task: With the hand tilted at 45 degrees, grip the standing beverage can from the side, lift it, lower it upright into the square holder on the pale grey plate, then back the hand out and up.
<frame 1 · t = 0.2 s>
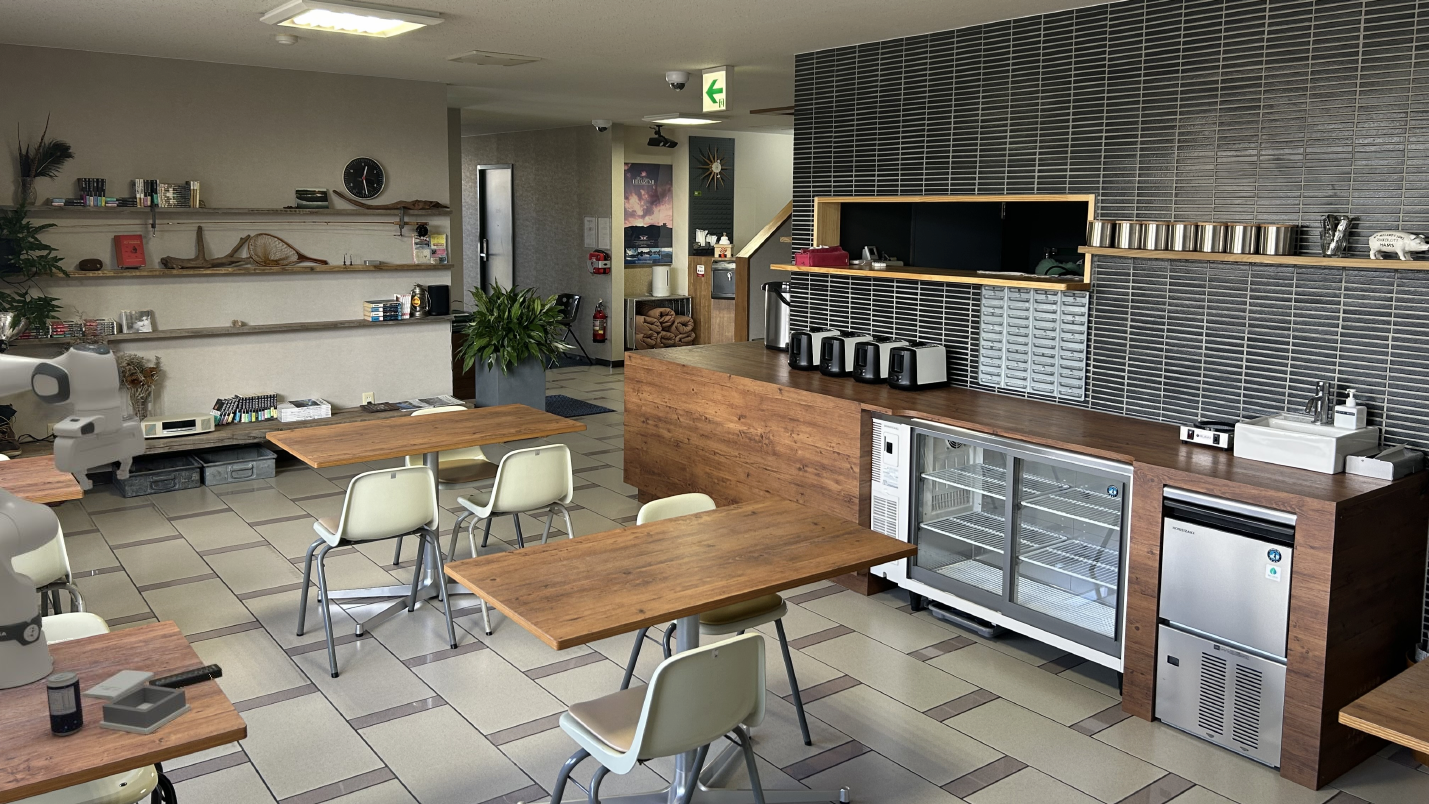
hand: (105, 483, 225), 48 cm above the table, tool pointing down, fingers open, 8 cm apart
beverage can: (67, 731, 215), on the table
external hard drive: (119, 689, 236), on the table
square holder: (146, 718, 221), on the table
multiport hub: (186, 684, 239), on the table
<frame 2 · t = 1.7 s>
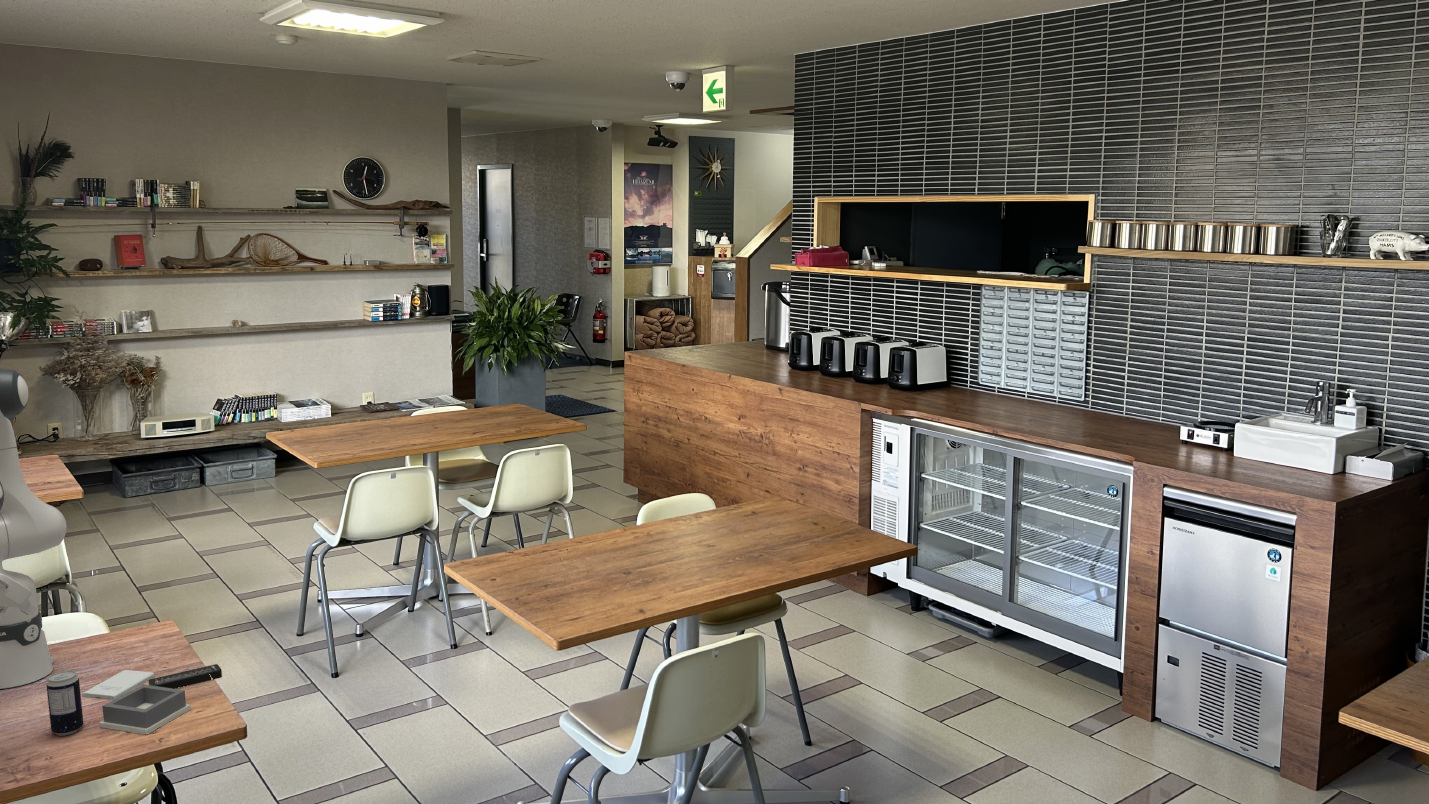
hand: (18, 610, 206), 28 cm above the table, tool tilted 40°, fingers open, 8 cm apart
nothing on the table moved.
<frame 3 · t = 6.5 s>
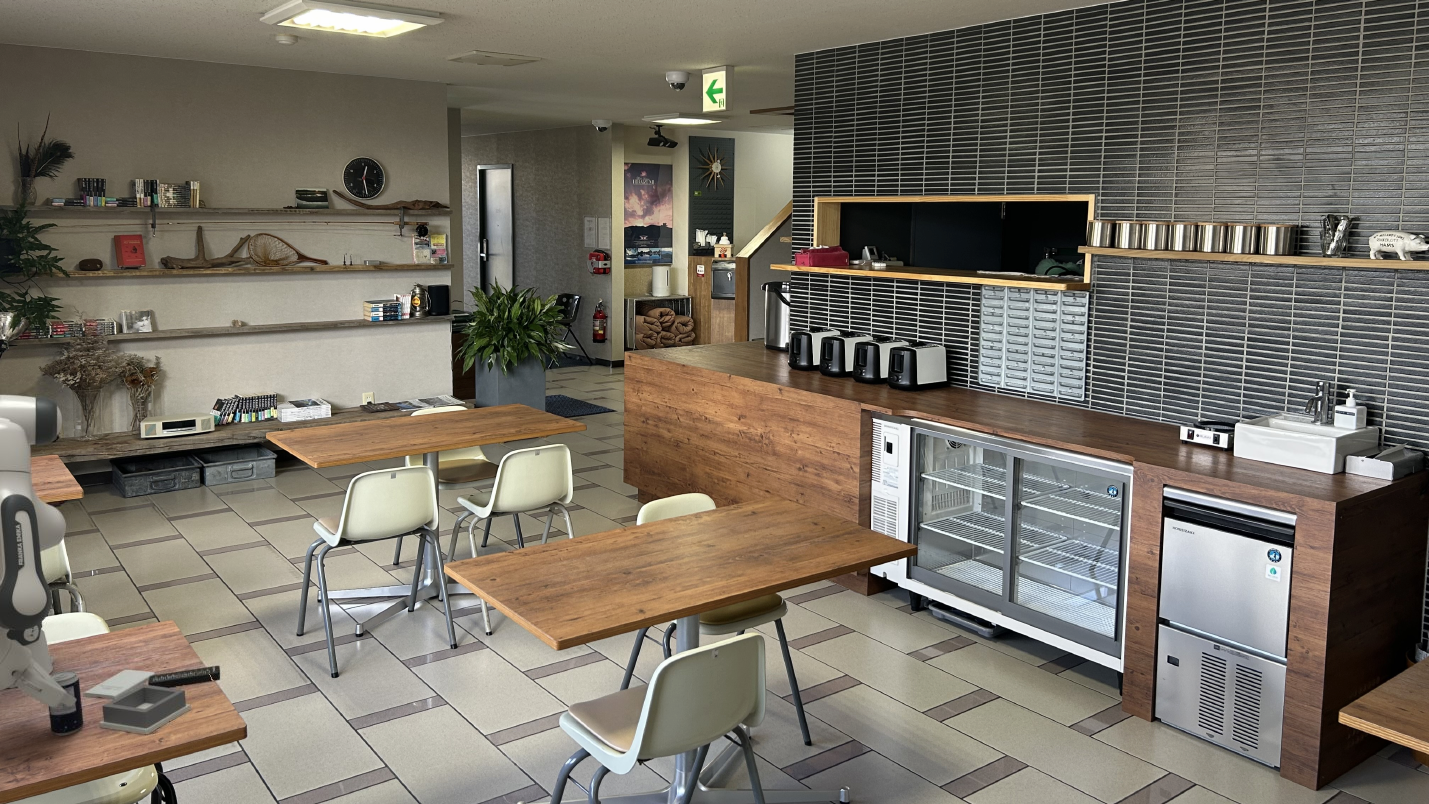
hand: (67, 696, 215), 7 cm above the table, tool tilted 45°, fingers closed on beverage can, 6 cm apart
beverage can: (67, 731, 215), on the table, touching gripper
when the fingers open (10 cm above the table, at t = 12.2 s): beverage can stays where it is, resting on square holder.
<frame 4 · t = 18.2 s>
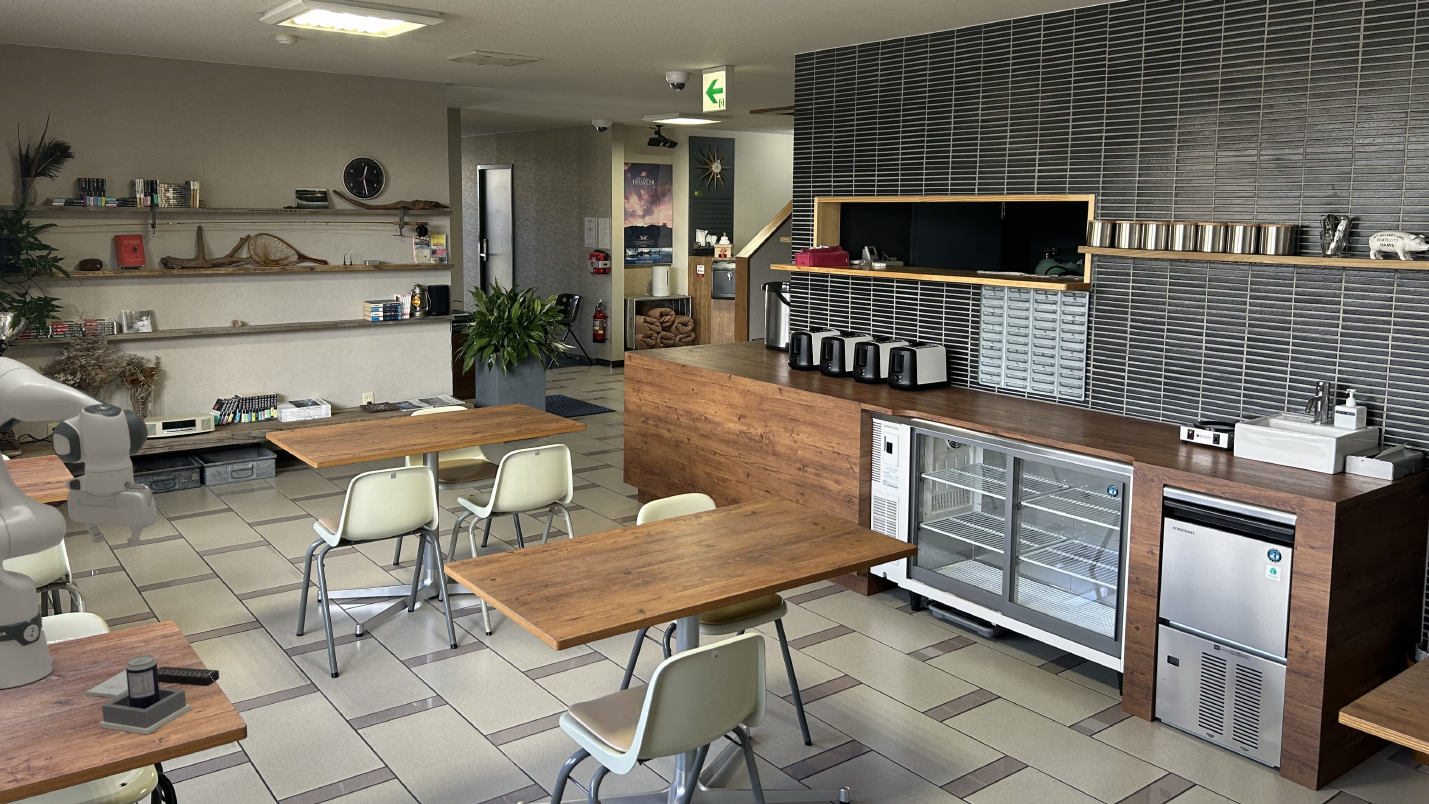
hand: (115, 543, 225), 35 cm above the table, tool pointing down, fingers open, 8 cm apart
beverage can: (145, 714, 221), point 1 cm above the table, touching square holder
multiport hub: (185, 682, 240), on the table
everything else where it was.
at the end: beverage can 0.1 cm off-centre on the square holder, point 0.8 cm above the square holder's base; beverage can tilted 0°; the gripper is holding nothing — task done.
